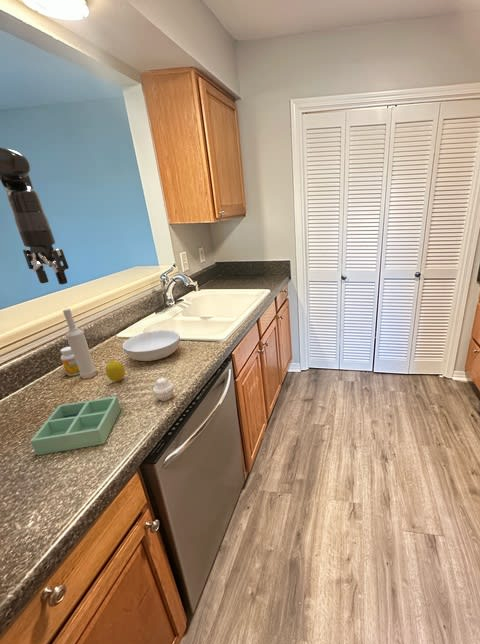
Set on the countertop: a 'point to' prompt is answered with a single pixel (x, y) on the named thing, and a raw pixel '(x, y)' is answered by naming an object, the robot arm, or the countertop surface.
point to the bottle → (79, 347)
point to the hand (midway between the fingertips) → (54, 283)
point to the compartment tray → (77, 426)
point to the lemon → (115, 370)
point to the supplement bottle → (69, 362)
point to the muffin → (163, 389)
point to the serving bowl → (152, 345)
